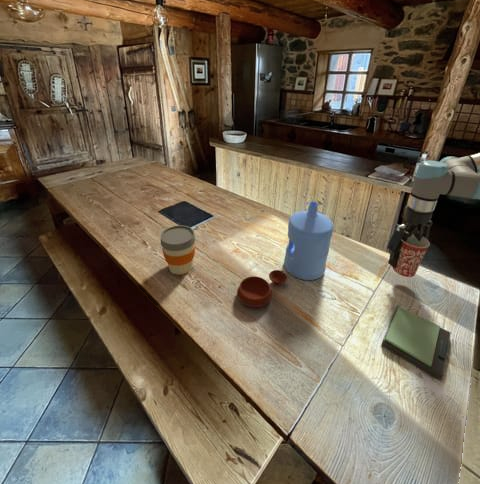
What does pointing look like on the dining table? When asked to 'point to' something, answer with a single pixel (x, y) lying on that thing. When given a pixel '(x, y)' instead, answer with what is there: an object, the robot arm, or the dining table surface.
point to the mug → (411, 256)
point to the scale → (418, 341)
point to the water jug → (308, 243)
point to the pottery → (259, 289)
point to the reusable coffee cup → (178, 248)
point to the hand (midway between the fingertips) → (401, 262)
